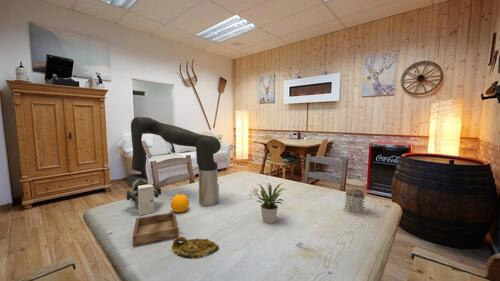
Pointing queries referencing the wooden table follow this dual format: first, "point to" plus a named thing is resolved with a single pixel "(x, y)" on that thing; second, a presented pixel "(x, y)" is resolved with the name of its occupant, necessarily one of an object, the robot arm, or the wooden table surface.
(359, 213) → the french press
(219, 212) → the wooden table surface
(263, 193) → the house plant
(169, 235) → the walnut box
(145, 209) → the skincare box
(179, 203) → the orange
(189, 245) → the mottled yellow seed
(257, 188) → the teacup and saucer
